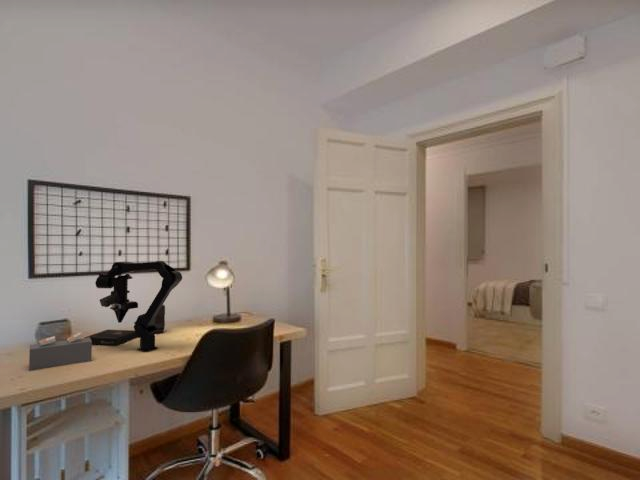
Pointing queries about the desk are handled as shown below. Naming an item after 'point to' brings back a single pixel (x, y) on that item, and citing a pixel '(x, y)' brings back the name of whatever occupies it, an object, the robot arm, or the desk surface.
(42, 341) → the block
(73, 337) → the rocker
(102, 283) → the robot arm
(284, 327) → the desk surface
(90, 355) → the switch block
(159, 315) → the dark grey tall block
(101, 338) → the portable cd player
